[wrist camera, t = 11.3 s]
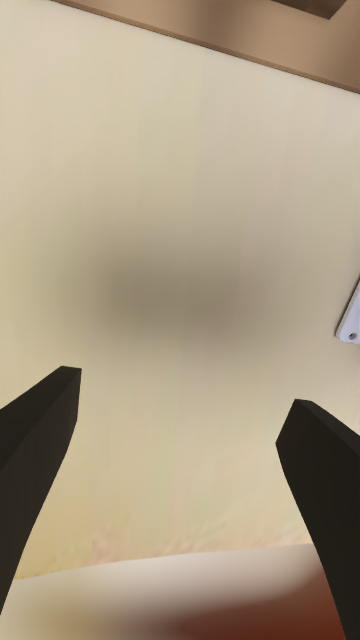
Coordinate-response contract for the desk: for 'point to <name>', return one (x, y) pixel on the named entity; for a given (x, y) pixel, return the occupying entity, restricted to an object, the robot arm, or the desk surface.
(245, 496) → the desk surface
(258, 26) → the peg stand
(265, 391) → the desk surface
